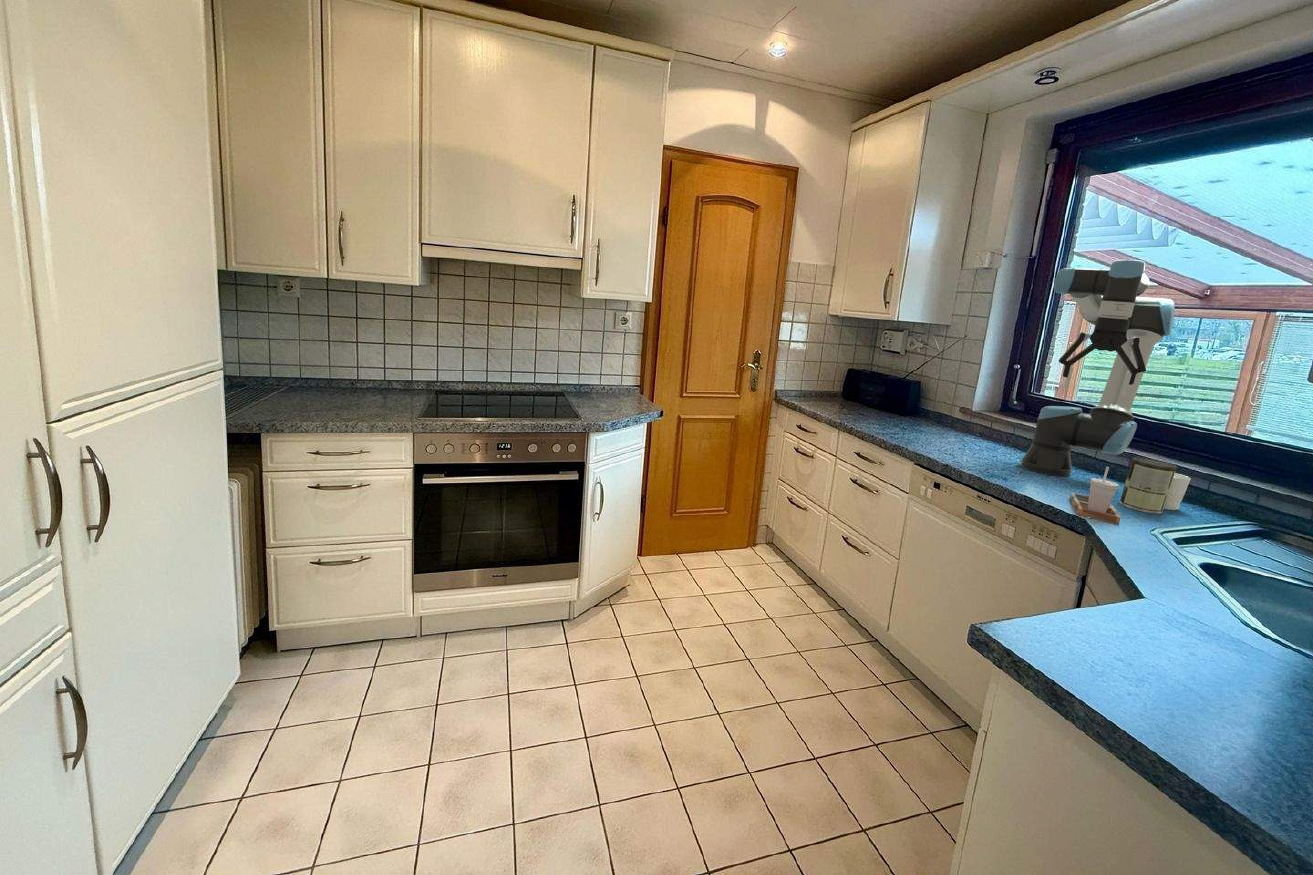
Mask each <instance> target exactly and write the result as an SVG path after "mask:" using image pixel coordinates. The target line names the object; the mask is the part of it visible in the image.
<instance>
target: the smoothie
mask: <svg viewBox="0 0 1313 875" xmlns="http://www.w3.org/2000/svg"><path fill="white" fill-rule="evenodd" d="M1109 470H1110V467H1109V466H1106V468H1105V471H1104V475H1103V478H1090V481H1089V484H1090V486H1089V487H1090V488H1089V495H1088V496H1089V501H1088V509H1087V510H1091V511H1096V512H1101V513H1105V512H1106V510H1107V508H1108V506H1109V504H1110V503H1111V502H1112V500H1113V498H1114V495H1115V494H1116V492H1117V490H1119V487H1120V486H1119V484H1118V483H1117V482H1114V481H1110V480H1107V475H1108V473H1109Z"/></svg>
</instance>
